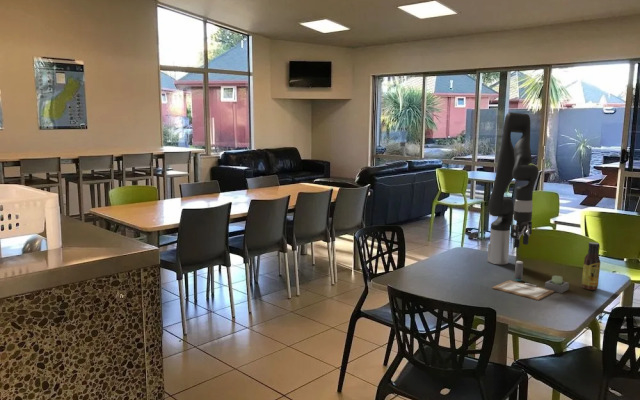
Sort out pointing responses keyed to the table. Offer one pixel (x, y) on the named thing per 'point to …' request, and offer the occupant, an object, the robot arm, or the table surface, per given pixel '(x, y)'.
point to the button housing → (557, 286)
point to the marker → (518, 270)
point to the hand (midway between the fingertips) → (521, 245)
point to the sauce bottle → (591, 267)
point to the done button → (557, 279)
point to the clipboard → (523, 289)
